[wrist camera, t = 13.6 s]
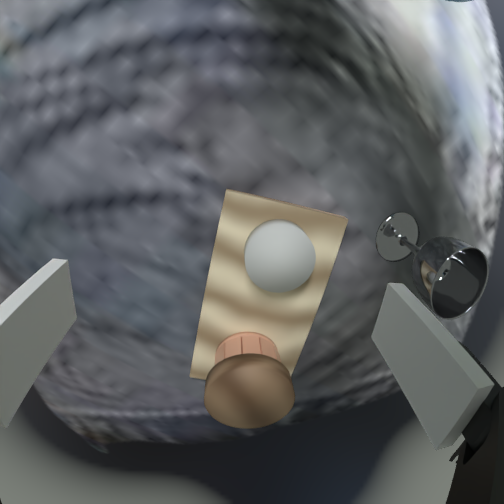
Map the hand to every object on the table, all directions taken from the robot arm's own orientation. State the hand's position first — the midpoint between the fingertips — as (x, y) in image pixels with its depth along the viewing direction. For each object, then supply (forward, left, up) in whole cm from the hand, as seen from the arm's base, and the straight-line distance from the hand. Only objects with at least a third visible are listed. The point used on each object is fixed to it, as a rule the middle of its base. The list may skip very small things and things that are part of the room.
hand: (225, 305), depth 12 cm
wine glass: (-18, +15, -27) cm, 36 cm away
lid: (+8, +22, -19) cm, 30 cm away
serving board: (+3, +15, -27) cm, 31 cm away
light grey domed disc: (-2, +9, -25) cm, 27 cm away
